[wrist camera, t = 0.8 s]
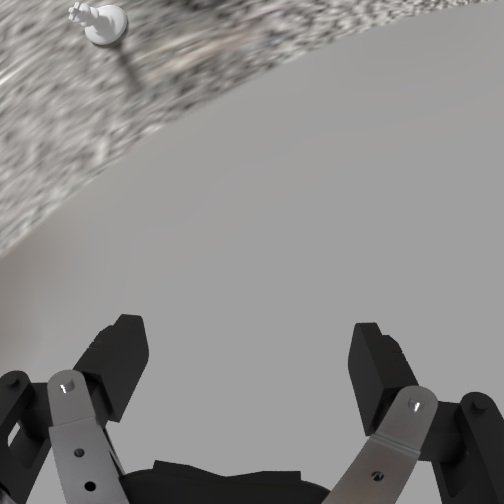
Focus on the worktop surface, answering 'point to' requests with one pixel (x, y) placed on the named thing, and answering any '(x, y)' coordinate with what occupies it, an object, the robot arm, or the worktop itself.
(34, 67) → the worktop surface
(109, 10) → the chess piece
